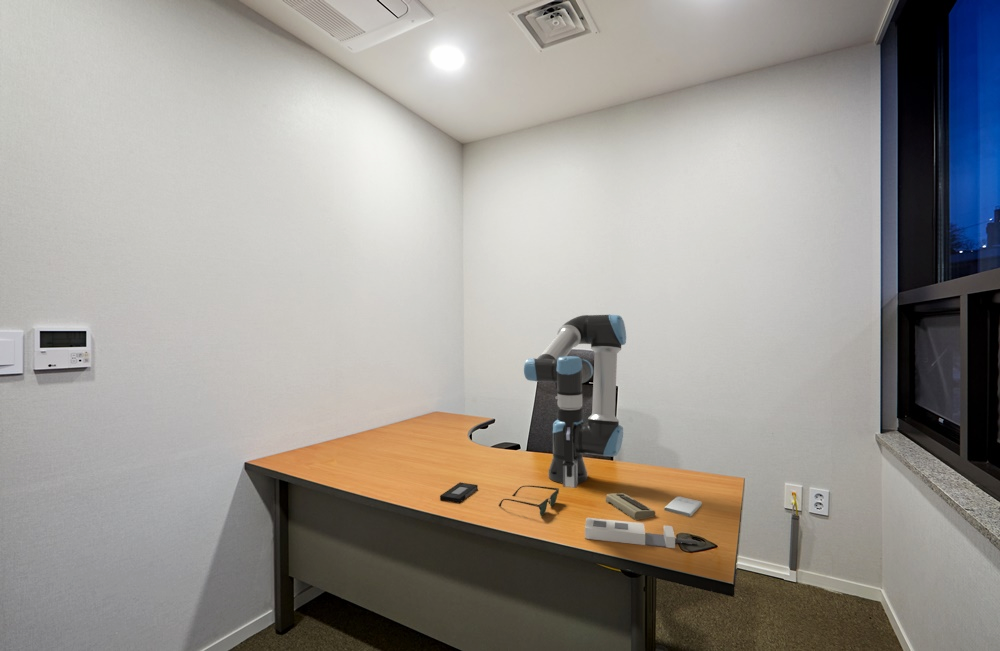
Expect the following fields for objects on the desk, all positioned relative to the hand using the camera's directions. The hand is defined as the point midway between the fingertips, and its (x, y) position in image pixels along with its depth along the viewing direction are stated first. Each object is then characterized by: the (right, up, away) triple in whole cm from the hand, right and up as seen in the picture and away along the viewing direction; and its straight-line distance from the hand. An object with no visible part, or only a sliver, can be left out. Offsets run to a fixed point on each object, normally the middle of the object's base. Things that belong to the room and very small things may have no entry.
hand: (570, 483), depth 140 cm
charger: (0, 0, 0) cm, 0 cm away
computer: (+21, -13, +10) cm, 26 cm away
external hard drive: (+39, -12, +11) cm, 42 cm away
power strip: (+18, -12, -11) cm, 24 cm away
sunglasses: (-12, -13, +14) cm, 22 cm away
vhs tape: (-36, -13, +24) cm, 45 cm away
